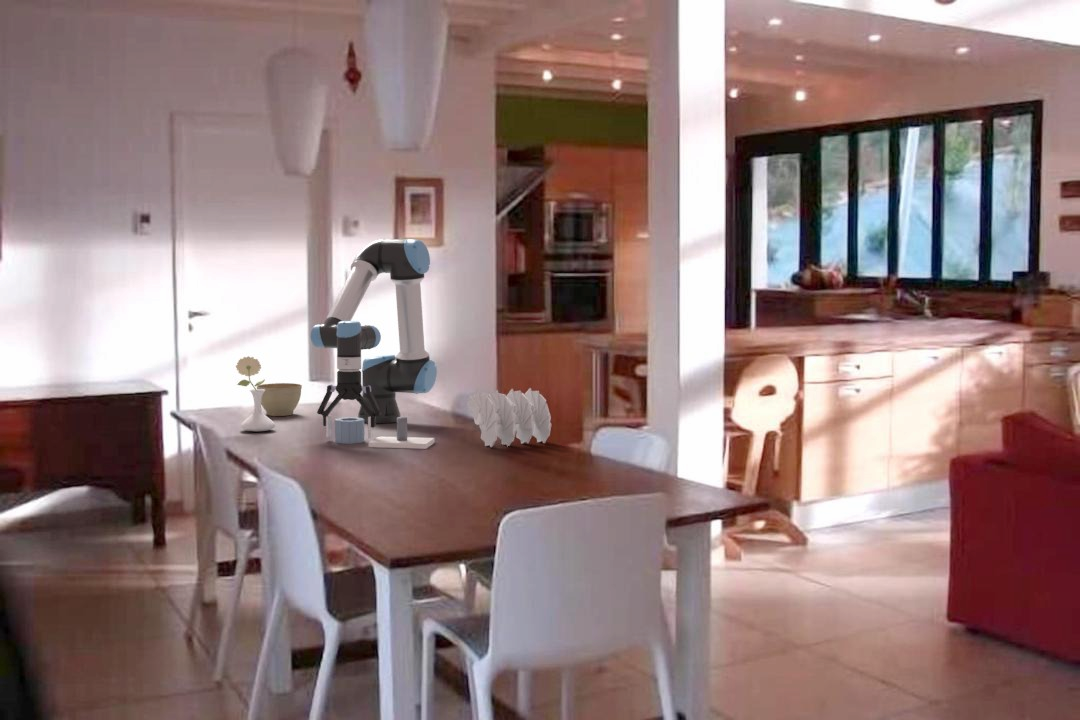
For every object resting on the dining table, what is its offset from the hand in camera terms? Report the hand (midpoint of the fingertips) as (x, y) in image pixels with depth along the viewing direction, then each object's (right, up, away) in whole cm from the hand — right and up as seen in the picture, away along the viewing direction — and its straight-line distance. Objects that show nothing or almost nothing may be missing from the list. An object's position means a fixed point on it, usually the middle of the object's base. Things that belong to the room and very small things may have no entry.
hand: (349, 437), depth 375 cm
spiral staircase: (+52, -2, -4) cm, 52 cm away
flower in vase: (-35, 0, +21) cm, 40 cm away
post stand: (+17, -2, -6) cm, 18 cm away
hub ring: (0, -1, 0) cm, 1 cm away
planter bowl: (-35, +4, +61) cm, 71 cm away
